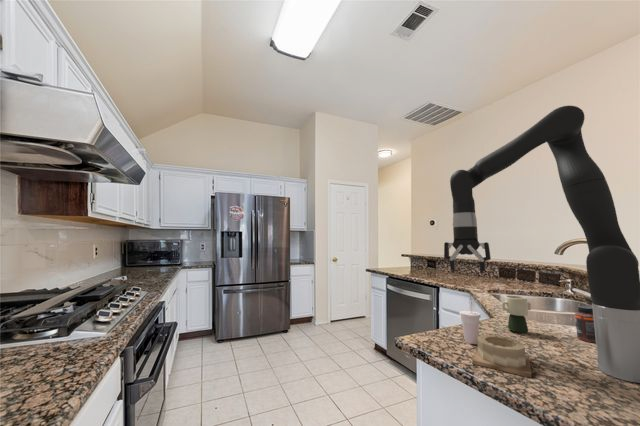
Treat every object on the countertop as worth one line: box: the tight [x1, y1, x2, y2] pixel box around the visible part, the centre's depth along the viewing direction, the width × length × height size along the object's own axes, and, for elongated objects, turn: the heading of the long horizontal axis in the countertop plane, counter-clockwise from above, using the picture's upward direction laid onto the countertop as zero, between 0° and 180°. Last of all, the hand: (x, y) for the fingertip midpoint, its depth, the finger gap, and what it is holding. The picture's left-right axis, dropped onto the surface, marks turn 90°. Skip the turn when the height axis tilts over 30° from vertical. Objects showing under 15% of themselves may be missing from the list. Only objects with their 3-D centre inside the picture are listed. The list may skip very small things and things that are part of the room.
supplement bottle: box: [574, 305, 596, 344], centre depth 94 cm, size 6×6×11 cm
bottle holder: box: [471, 334, 532, 379], centre depth 76 cm, size 13×13×6 cm
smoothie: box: [459, 299, 481, 345], centre depth 92 cm, size 6×6×14 cm
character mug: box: [501, 294, 532, 334], centre depth 102 cm, size 11×7×13 cm, turn 90°
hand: (467, 272), depth 93 cm, fingers open, 8 cm apart
